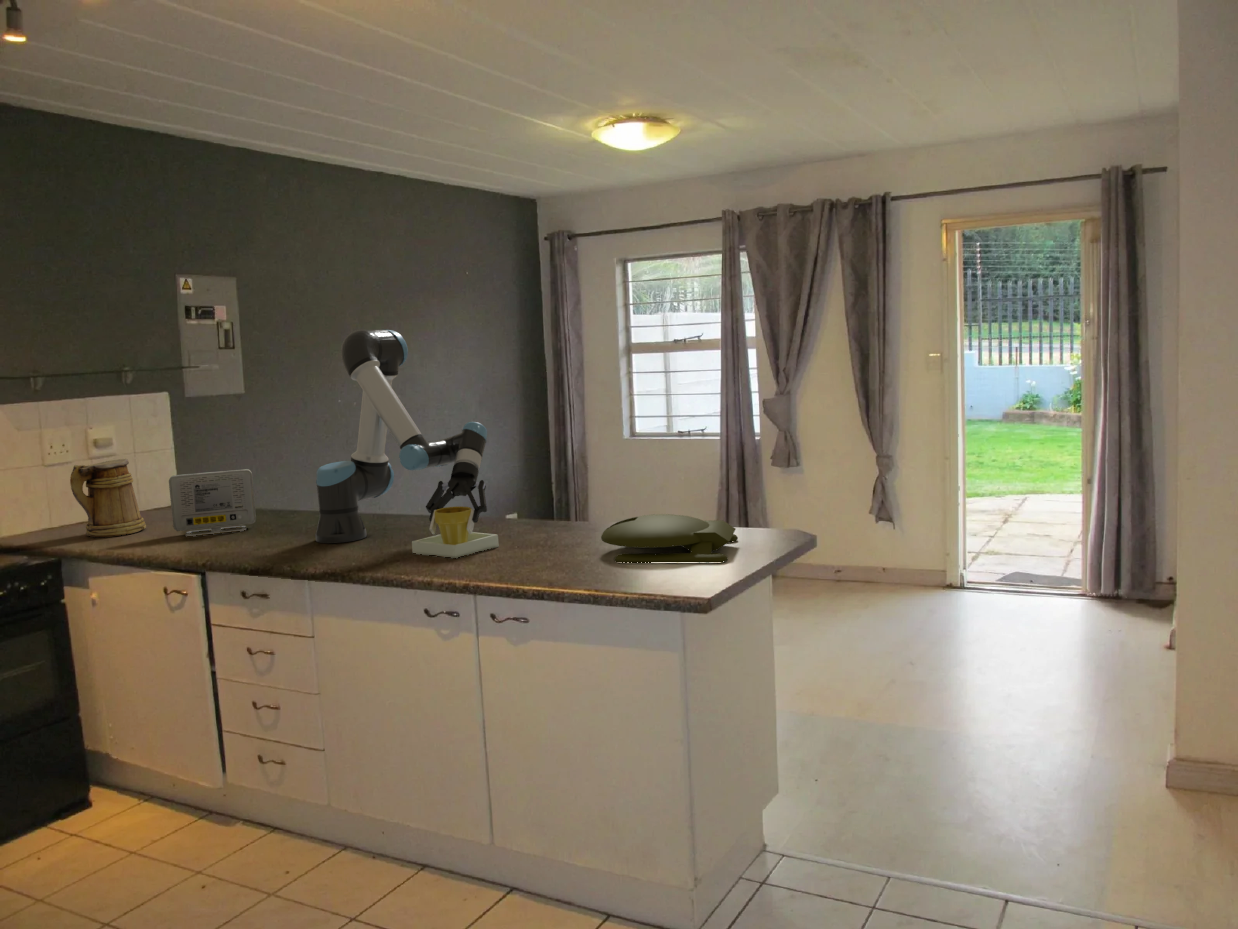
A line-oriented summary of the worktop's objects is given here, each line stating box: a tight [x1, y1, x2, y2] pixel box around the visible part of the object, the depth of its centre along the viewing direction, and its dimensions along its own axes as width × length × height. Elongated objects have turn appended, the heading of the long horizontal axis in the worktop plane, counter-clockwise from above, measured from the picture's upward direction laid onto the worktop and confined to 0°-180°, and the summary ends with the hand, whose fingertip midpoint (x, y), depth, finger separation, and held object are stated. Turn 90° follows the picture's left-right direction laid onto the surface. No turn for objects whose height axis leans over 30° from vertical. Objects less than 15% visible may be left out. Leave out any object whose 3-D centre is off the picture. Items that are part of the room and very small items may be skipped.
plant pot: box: [435, 506, 472, 545], centre depth 279 cm, size 10×10×10 cm
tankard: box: [69, 458, 147, 538], centre depth 336 cm, size 18×24×25 cm
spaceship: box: [600, 513, 739, 563], centre depth 263 cm, size 35×31×10 cm
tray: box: [411, 531, 500, 559], centre depth 279 cm, size 17×17×4 cm
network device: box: [168, 468, 257, 537], centre depth 330 cm, size 26×9×20 cm, turn 111°
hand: (450, 531), depth 276 cm, fingers closed on plant pot, 10 cm apart
